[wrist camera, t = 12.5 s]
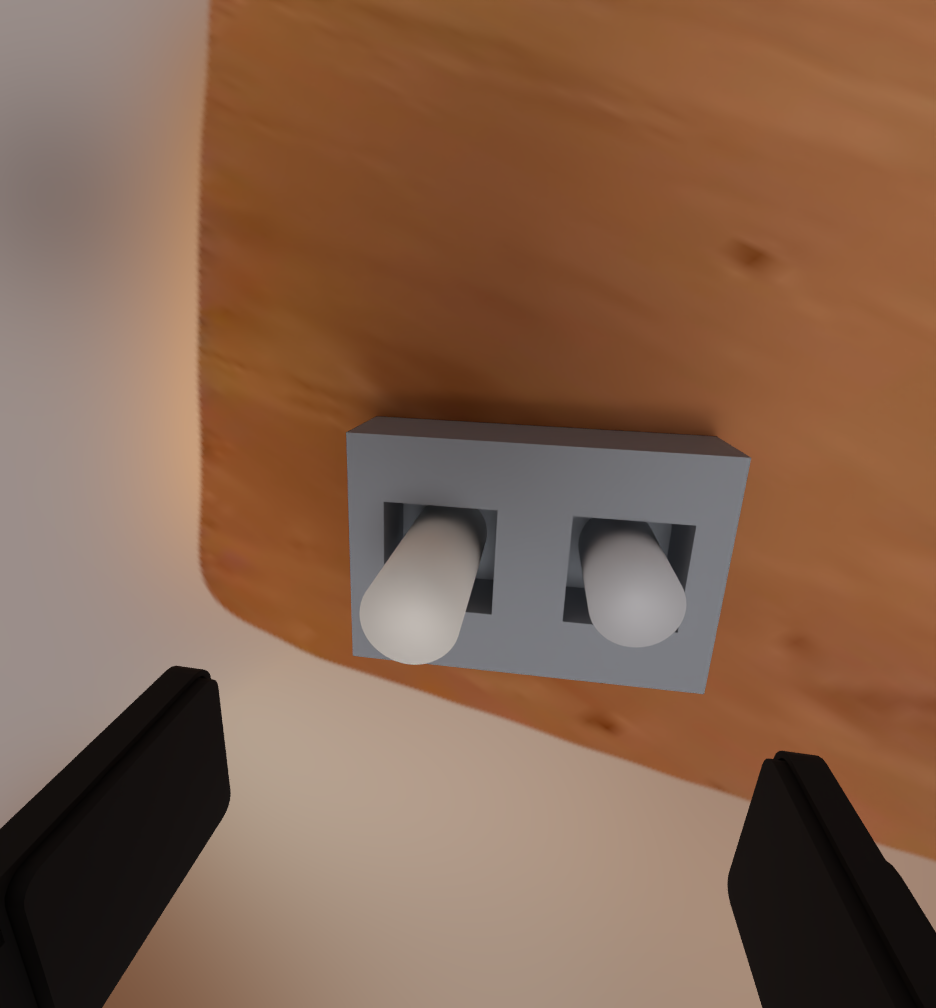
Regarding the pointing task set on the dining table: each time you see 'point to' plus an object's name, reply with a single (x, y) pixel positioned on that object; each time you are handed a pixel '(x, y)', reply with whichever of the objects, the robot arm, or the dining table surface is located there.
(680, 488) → the socket block
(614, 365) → the dining table surface
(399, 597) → the peg
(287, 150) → the dining table surface
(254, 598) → the dining table surface
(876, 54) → the dining table surface
